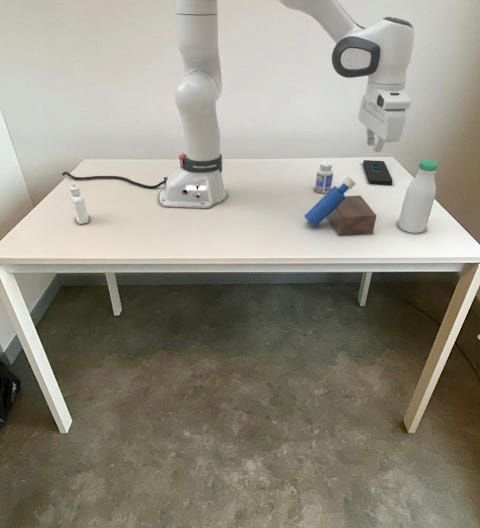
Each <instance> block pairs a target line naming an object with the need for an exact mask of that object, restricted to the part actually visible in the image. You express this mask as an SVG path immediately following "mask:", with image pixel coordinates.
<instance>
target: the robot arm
mask: <svg viewBox="0 0 480 528" xmlns="http://www.w3.org/2000/svg"><path fill="white" fill-rule="evenodd" d="M277 1H278V2H279V3H281V4H282V5H283V6H284V7H285V8H287V9H290V10H293V11H298V12H300V13H303V14H305V15H307V16H309V17H311V18H313V20H315V21H316V22H317V23H318V24H319V25H320V26H321V28H322V29H323V30H324V31H325V32H326V33H327V35H328V36H329V37H330V38H331V39H332V40H333V41H334V43H335V46H334V48H333V50H332V53H331V65H332V67H333V69H334V71H335V72H336V73H337V74H338V75H339V76H341V77H342V78H348V79H354V78H359V77H361V78H362V77H368V78H367V85H366V88H365V89H366V90H365V94H363V96H362V98H361V101H360V106H359V111H358V114H357V115H358V116H357V117H358V121H359V122H360V123H361V124H362V125H364V126H365V127H366V129H365V133H366V142H365V144H366V145H367V146H369V147H371V146H372V147H373V148H372V150H373V151H374V152H375V153H381V152H382V151H383V148H384V145H385V143H397V142H399V140H400V139H401V138H402V135H403V132H404V128H405V124H406V120H407V110H408V109H410V107H411V104H412V101H411V98H410V97H409V94H408V93H407V90H406V88H405V85H406V81H407V78H406V73H407V69H408V67H409V65H410V63H411V59H412V53H413V48H414V43H415V42H414V40H415V29H414V27H413V24H411V23H410V22H409V21H407V20H405V19H401V18H399V17H392V16H386V17H382V18H381V19H380V20H379V21H377V22H375V23H374V24H372V25H370V26H368V27H364V26H362V25H359V24H358V23H357V22H356V21H354V19H353V18H352V17H351V16H350V14H349V13H348V12H347V11H346V10H345V8H344V7H343V6H342V5H341V4H340V3H339V2H338V0H277ZM218 9H219V8H218V0H175V18H176V19H175V20H176V21H175V22H176V34H177V35H176V36H177V48H178V50H179V52H180V56H181V60H182V65H183V70H184V77H182V78H181V80H180V81H179V82H178V84H177V86H176V88H175V93H174V103H175V106H176V108H177V110H178V113H179V118H180V120H181V125H182V128H183V129H182V130H183V136H184V145H185V146H184V147H185V149H184V150H185V153H184V152H180V153H179V154H178V160H179V165H180V166H179V167H178V168H177V169H176V170H174V171H173V172H172V173H170V174H169V175H168V176H163V181H160V182H159V183H158V184H155V185H147V184H143V183H141V182H138V181H134V180H131V179H129V178H127V177H124V176H118V175H92V176H74V175H73V174H71V173H70V172H68V171H63V172H62V174H61V176H65V175H67V176H68V177H70V178H71V179H72V180H81V181H82V180H83V181H85V180H94V179H95V180H96V179H117V180H123V181H126V182H128V183H130V184H133V185H136V186H139V187H142V188H144V189H145V188H146V189H156V188H159V187H160V186H162V185H163V186H164V187H163V188H162V189H161V190H160V191H159V202H160V204H161V205H162V206H163V207H169V208H170V207H171V208H196V209H209V208H211V207H212V206H213V205H216V204H218V203H220V202H222V201H224V200H225V199H226V197H227V192H226V189H225V185H224V180H223V156H222V153H221V130H220V127H219V121H218V117H217V101H218V100H219V99H220V97H221V95H222V92H223V81H222V68H221V59H220V52H219V19H218V18H219V15H218V14H219V13H218ZM375 135H376V138H375Z"/></svg>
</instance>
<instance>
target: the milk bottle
mask: <svg viewBox="0 0 480 528" xmlns="http://www.w3.org/2000/svg"><path fill="white" fill-rule="evenodd" d="M438 166H439V163H438V162H437V161H434V160H431V159H422V160H420V162H419V164H418V168H417V170H418V171H417V173H416V175H415V176H414V178H413V179H412V180H411V181H410V182H409V184H408V186H407V188H406V190H405V195H404V198H403V202H402V206H401V209H400V213H399V218H398V221H397V225H398V227H399V229H401V230H402V231H405V232H408V233H411V234H412V233H413V234H418V233H422V232H424V231H425V230H426V228H427V224H428V221H429V218H430V214H431V211H432V208H433V204H434V201H435V197H436V192H437V185H436V183H435V182H436V181H435V173H436V172H437V170H438Z"/></svg>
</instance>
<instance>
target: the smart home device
mask: <svg viewBox="0 0 480 528" xmlns="http://www.w3.org/2000/svg"><path fill="white" fill-rule="evenodd" d="M362 162H363V163H362V166H363V170H364V172H365V175H366V179H367V180H368V181H367V182H368V184H369V185H374V186H375V185H377V186H392V185H393V181H394V180H393V178H392V175H391V172H390V171H389V169H388V167H387V164H386V162H385V161H384V160H370V159H363V161H362Z"/></svg>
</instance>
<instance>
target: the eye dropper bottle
mask: <svg viewBox="0 0 480 528" xmlns="http://www.w3.org/2000/svg"><path fill="white" fill-rule="evenodd" d="M69 189H70V193H71V195H70V201H71V205H72V209H73V212H74V215H75V220H76V222H77V223H78V224H79V225H83V224H84V225H85V224H87V223H88V222H89V214H88V211H87V207H86V203H85V199H84V195H83V194H82V193H81V189H80V186H77V185H76V183H75V182H72V183H71V187H70V188H69Z"/></svg>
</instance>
